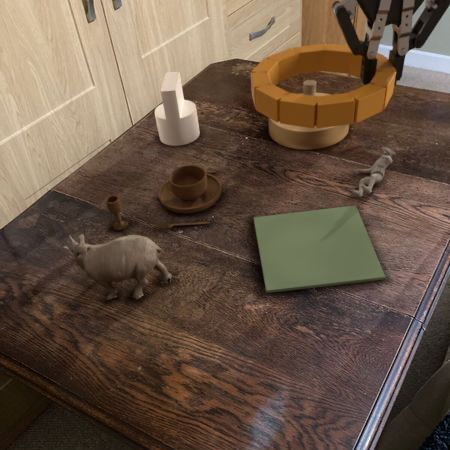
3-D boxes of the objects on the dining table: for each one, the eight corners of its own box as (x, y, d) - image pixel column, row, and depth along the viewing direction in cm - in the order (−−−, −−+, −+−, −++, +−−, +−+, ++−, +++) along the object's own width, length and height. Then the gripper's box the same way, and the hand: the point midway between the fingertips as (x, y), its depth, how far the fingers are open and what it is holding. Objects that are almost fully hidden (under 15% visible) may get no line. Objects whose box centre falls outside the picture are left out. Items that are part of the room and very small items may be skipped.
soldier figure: (339, 196, 91) (360, 146, 94) (358, 211, 92) (377, 161, 96) (369, 182, 84) (390, 129, 88) (389, 199, 85) (408, 146, 89)
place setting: (222, 224, 87) (219, 197, 82) (111, 233, 88) (102, 206, 84) (222, 169, 99) (219, 142, 94) (124, 178, 100) (116, 152, 96)
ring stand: (338, 105, 112) (342, 60, 105) (357, 144, 100) (362, 96, 93) (264, 114, 112) (262, 70, 105) (274, 154, 101) (273, 107, 93)
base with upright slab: (162, 126, 113) (151, 73, 104) (201, 123, 112) (193, 70, 103) (157, 147, 107) (145, 92, 98) (198, 144, 106) (190, 89, 97)
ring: (369, 58, 68) (372, 37, 66) (409, 117, 57) (414, 93, 55) (246, 73, 69) (245, 52, 67) (260, 135, 57) (260, 112, 55)
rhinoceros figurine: (172, 300, 72) (97, 225, 66) (115, 328, 80) (43, 264, 74) (188, 267, 78) (120, 195, 71) (133, 297, 85) (68, 234, 79)
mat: (355, 207, 86) (355, 205, 86) (385, 279, 74) (385, 277, 74) (253, 219, 87) (253, 217, 86) (266, 293, 75) (266, 290, 74)
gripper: (343, -69, 47) (331, 105, 60) (488, -88, 47) (445, 91, 60) (327, -85, 53) (319, 79, 65) (457, -101, 52) (424, 66, 65)
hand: (379, 84), depth 62 cm, fingers closed on ring, 2 cm apart
